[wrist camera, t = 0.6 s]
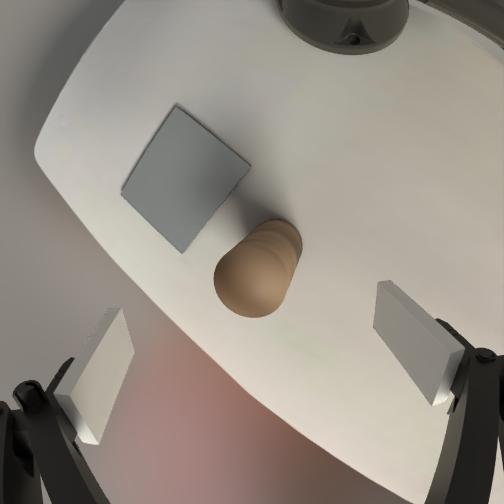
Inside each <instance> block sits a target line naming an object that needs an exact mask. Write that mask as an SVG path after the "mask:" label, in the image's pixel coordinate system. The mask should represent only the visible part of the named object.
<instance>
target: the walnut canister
mask: <svg viewBox="0 0 504 504" xmlns="http://www.w3.org/2000/svg"><path fill="white" fill-rule="evenodd" d="M301 253H302V239H301V236H300V234H299V232H298V231H297V230H296V228H295V227H294V226H292V225H291V224H289V223H288V222H285V221H282V220H269V221H266V222H264V223H262V224H261V225H259V226H258V227H257V228H256V229H255V230H254V231H252V232H251V233H250V234H249V235H248V236H247V237H245V238H244V239H243V240H242V241H241V242H239V243H238V244H237V245H236V246H235V247H234V248H232V249H231V250H230V251H229V252H228V253H227V254H225V255H224V256H223V257H222V258H221V259H220V261H219V262H218V264H217V266H216V269H215V272H214V286H215V290H216V293H217V295H218V297H219V298H220V300H221V301H222V303H223V304H224V305H225V306H226V307H227V308H229V309H230V310H231V311H233V312H234V313H236V314H238V315H241V316H244V317H250V318H258V317H263V316H266V315H269V314H271V313H272V312H274V311H275V310H276V309H277V308H278V307H279V306H280V305H281V304H282V302H283V300H284V298H285V295H286V293H287V290H288V287H289V285H290V282H291V280H292V277H293V274H294V272H295V269H296V266H297V264H298V261H299V258H300V256H301Z"/></svg>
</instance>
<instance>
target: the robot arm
mask: <svg viewBox="0 0 504 504" xmlns="http://www.w3.org/2000/svg"><path fill="white" fill-rule="evenodd" d="M418 1H420V2H422V3H424V4H426V5H428V6H430V7H433V8H435V9H437V10H439V11H441V12H443V13H445V14H447V15H449V16H451V17H453V18H455V19H457V20H459V21H460V22H462V23H464V24H466V25H468V26H469V27H471V28H473V29H475V30H476V31H478V32H479V33H481V34H483V35H484V36H486V37H487V38H489V39H490V40H492V41H493V42H495V43H496V44H498V45H499V46H500V47H501V48H502V49H503V50H504V0H418ZM277 4H278V7H279V10H280V12H281V15H282V17H283V19H284V21H285V22H286V24H287V25H288V27H289V28H290V29H291V30H292V31H293V32H294V33H295V34H296V35H297V36H298V37H300V38H301V39H302V40H304V41H305V42H307V43H309V44H311V45H312V46H315V47H317V48H319V49H322V50H325V51H328V52H332V53H337V54H344V55H362V54H368V53H373V52H376V51H379V50H381V49H383V48H385V47H387V46H389V45H390V44H392V43H393V42H394V41H395V40H396V39H397V38H398V37H399V35H400V34H401V32H402V31H403V29H404V26H405V24H406V22H407V19H408V15H409V3H408V0H277ZM373 328H374V329H375V330H376V332H377V333H378V334H379V336H380V337H381V338H382V339H383V341H384V342H385V343H386V345H387V346H388V347H389V349H390V350H391V351H392V353H393V354H394V355H395V357H396V358H397V359H398V361H399V362H400V363H401V365H402V366H403V367H404V369H405V370H406V372H407V373H408V374H409V376H410V377H411V378H412V380H413V381H414V382H415V384H416V385H417V387H418V388H419V389H420V391H421V392H422V394H423V395H424V396H425V398H426V399H427V401H428V402H429V403H430V405H431V406H434V405H437V404H440V403H442V402H445V401H446V400H447V397H448V395H449V392H450V390H451V392H452V393H453V394H454V395H455V396H454V399H453V401H452V403H451V406H450V408H449V410H448V412H447V414H450V416H449V421H448V426H447V430H446V435H445V439H444V443H443V447H442V451H441V454H440V458H439V461H438V465H437V468H436V472H435V475H434V478H433V481H432V484H431V487H430V490H429V493H428V496H427V498H426V501H425V504H488V502H489V497H490V492H491V487H492V481H493V475H494V468H495V461H496V452H497V442H498V437H499V443H500V449H501V455H502V462H503V470H504V355H500V356H497V355H496V354H495V353H494V352H493V351H491V350H490V349H487V348H476V349H475V348H474V347H473V346H472V345H471V344H470V343H469V342H468V341H467V340H466V339H465V338H464V337H463V336H461V335H460V334H459V333H458V332H457V331H456V330H454V328H453V327H451V326H450V325H449V324H448V323H447V322H445V321H443V320H441V319H439V318H437V319H434V318H433V317H432V316H430V315H429V314H428V313H427V312H426V311H425V310H424V309H423V308H422V307H420V306H419V305H418V304H417V303H416V302H415V301H414V300H413V299H411V298H410V297H409V296H408V295H407V294H406V293H405V292H403V291H402V290H401V289H400V288H399V287H398V286H397V285H395V284H394V283H393V282H392V281H391V280H388V281H381V282H378V285H377V296H376V306H375V315H374V324H373ZM134 353H135V351H134V348H133V345H132V342H131V338H130V335H129V332H128V328H127V325H126V321H125V318H124V314H123V311H122V308H108V310H107V311H106V313H105V314H104V316H103V317H102V318H101V320H100V321H99V323H98V324H97V326H96V327H95V329H94V330H93V332H92V333H91V335H90V336H89V338H88V339H87V341H86V342H85V344H84V345H83V347H82V348H81V350H80V351H79V353H78V354H77V356H76V357H75V358H70V359H68V360H67V361H66V362H65V363H63V365H62V366H61V368H60V369H59V371H58V373H57V374H56V375H55V378H54V379H53V380H52V382H51V383H50V385H49V386H48V388H47V390H46V391H45V392H44V390H43V389H42V387H41V385H40V383H39V382H37V381H35V380H28V381H24V382H22V383H21V384H19V385H18V386H17V387H16V388H15V390H14V391H13V398H14V399H15V401H16V402H17V404H18V406H19V407H20V409H19V410H11V409H10V408H9V406H8V405H7V403H6V402H3V401H0V504H43V498H42V489H41V479H40V474H41V477H42V480H43V483H44V485H45V488H46V490H47V493H48V495H49V498H50V500H51V502H52V504H110V502H109V500H108V499H107V498H106V496H105V494H104V493H103V491H102V489H101V487H100V486H99V484H98V482H97V481H96V479H95V477H94V475H93V474H92V472H91V470H90V469H89V466H88V465H87V463H86V461H85V459H84V457H83V455H82V453H81V451H80V449H79V447H78V445H77V444H76V442H75V441H74V440H75V437H76V435H77V434H78V436H79V437H80V439H81V440H82V441H83V442H84V443H90V444H96V445H99V444H100V441H101V438H102V435H103V433H104V430H105V427H106V424H107V422H108V419H109V416H110V413H111V410H112V408H113V405H114V403H115V400H116V397H117V395H118V392H119V390H120V387H121V385H122V382H123V380H124V377H125V375H126V372H127V370H128V367H129V365H130V362H131V360H132V358H133V355H134Z"/></svg>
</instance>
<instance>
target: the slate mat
mask: <svg viewBox="0 0 504 504" xmlns="http://www.w3.org/2000/svg"><path fill="white" fill-rule="evenodd" d="M251 167H252V166H251V165H249V164H248V163H247V162H246V161H245V160H243V159H242V158H241V157H240V156H239V155H237V154H236V153H235V152H234V151H233V150H231V149H230V148H229V147H228V146H227V145H225V144H224V143H223V142H222V141H220V140H219V139H218V138H217V137H216V136H214V135H213V134H212V133H211V132H209V131H208V130H207V129H206V128H204V127H203V126H202V125H201V124H199V123H198V122H197V121H195V120H194V119H193V118H192V117H190V116H189V115H188V114H186V113H185V112H184V111H183V110H181V109H180V108H179V107H175V109H174V110H173V111H172V113H171V114H170V116H169V117H168V119H167V120H166V121H165V123H164V124H163V126H162V127H161V129H160V130H159V132H158V133H157V135H156V136H155V138H154V139H153V141H152V142H151V144H150V146H149V147H148V149H147V150H146V152H145V153H144V155H143V157H142V158H141V160H140V161H139V163H138V165H137V166H136V168H135V170H134V171H133V173H132V175H131V176H130V178H129V180H128V182H127V183H126V185H125V187H124V189H123V190H122V192H121V194H120V195H121V196H122V197H123V198H124V199H125V200H126V201H127V202H128V203H129V204H130V205H131V206H132V207H133V208H134V209H135V210H136V211H137V212H138V213H140V214H141V215H142V216H143V217H144V218H145V219H146V220H147V221H148V222H149V223H150V224H151V225H152V226H153V227H154V228H155V229H156V230H157V231H158V232H159V233H160V234H161V235H162V236H163V237H164V238H165V239H166V240H167V241H168V242H170V243H171V244H172V245H173V246H174V247H175V248H176V249H177V250H178V251H179V252H180V253H181V254H183V253H184V252H185V251H186V249H187V248H188V247H189V245H190V244H191V243H192V241H193V240H194V239H195V237H196V236H197V235H198V233H199V232H200V231H201V229H202V228H203V227H204V226H205V224H206V223H207V222H208V220H209V219H210V218H211V217H212V215H213V214H214V213H215V211H216V210H217V209H218V208H219V206H220V205H221V204H222V203H223V201H224V200H225V199H226V197H227V196H228V195H229V194H230V192H231V191H232V190H233V189H234V187H235V186H236V185H237V184H238V183H239V181H240V180H241V179H242V178H243V176H244V175H245V174H246V173H247V171H248V170H249V169H250V168H251Z"/></svg>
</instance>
